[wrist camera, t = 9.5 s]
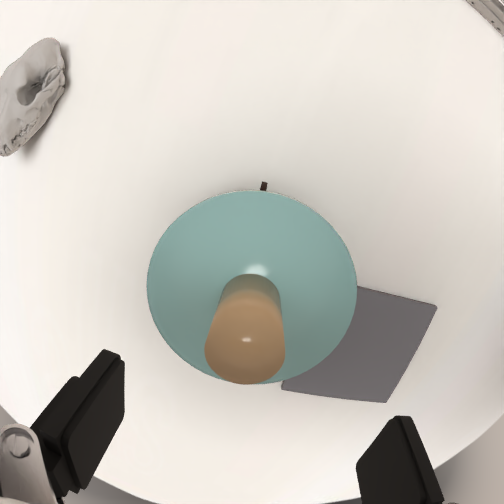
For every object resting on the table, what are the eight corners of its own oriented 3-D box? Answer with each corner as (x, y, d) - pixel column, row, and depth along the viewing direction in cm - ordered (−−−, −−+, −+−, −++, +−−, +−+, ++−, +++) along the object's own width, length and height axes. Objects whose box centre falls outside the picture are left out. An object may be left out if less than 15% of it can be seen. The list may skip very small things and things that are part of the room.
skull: (79, 34, 21) (-4, 110, 16) (86, 96, 29) (25, 173, 24) (29, 32, 20) (-48, 102, 15) (40, 88, 28) (-19, 158, 23)
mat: (435, 305, 30) (437, 307, 29) (384, 399, 34) (385, 402, 33) (323, 277, 30) (324, 279, 29) (281, 386, 34) (281, 389, 33)
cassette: (441, -18, 19) (472, -45, 12) (445, -25, 19) (475, -51, 11) (512, 48, 21) (550, 36, 13) (514, 40, 20) (551, 28, 13)
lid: (380, 223, 18) (430, 255, 12) (313, 389, 22) (324, 455, 15) (171, 167, 18) (124, 172, 11) (143, 348, 21) (109, 406, 15)
